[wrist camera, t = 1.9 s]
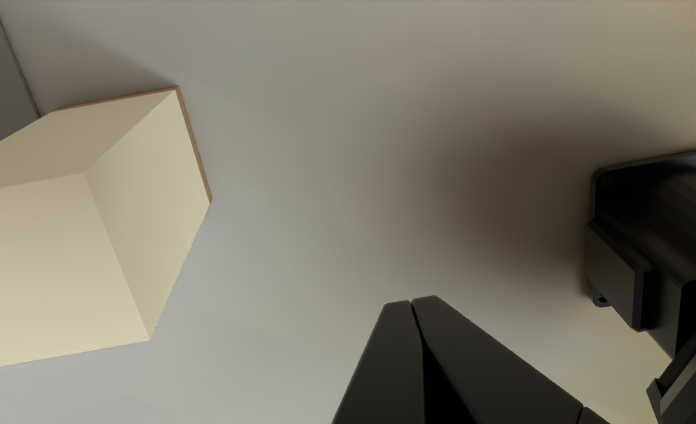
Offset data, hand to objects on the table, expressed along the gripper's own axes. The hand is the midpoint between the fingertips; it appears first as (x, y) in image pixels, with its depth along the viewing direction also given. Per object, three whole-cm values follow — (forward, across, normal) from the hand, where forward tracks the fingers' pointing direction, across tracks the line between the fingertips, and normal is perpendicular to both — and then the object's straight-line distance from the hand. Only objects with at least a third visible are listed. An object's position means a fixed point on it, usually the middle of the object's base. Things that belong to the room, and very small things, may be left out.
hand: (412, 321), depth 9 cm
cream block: (+13, +8, 0) cm, 16 cm away
